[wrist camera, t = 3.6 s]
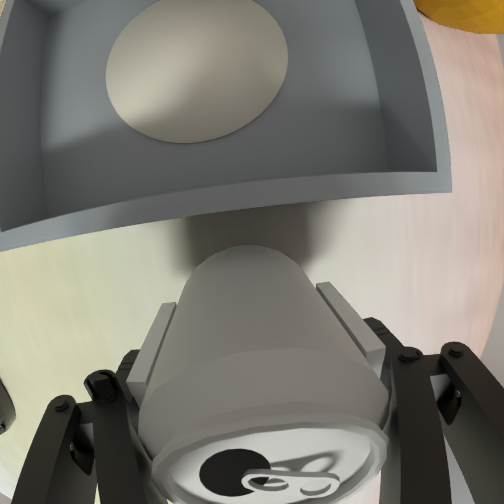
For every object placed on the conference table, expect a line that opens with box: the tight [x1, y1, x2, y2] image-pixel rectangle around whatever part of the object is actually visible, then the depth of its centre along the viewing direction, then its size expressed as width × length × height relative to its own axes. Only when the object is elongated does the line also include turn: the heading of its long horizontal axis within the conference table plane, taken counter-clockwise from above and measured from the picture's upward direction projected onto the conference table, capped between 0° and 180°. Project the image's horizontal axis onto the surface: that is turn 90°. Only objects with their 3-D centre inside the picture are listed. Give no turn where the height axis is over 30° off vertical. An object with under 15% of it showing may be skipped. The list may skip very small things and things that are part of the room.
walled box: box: [0, 0, 452, 252], centre depth 12 cm, size 24×18×6 cm
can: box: [138, 245, 389, 504], centre depth 11 cm, size 8×8×12 cm
